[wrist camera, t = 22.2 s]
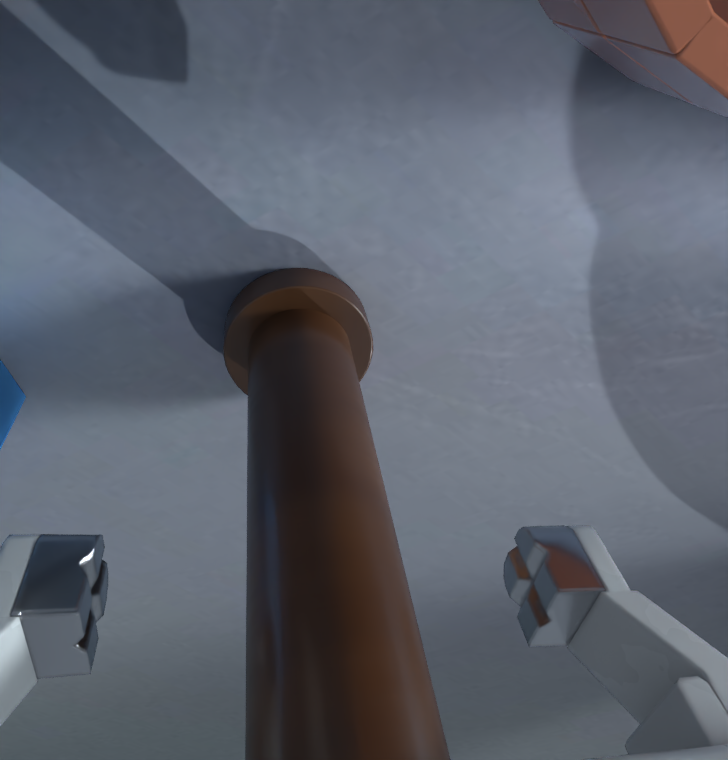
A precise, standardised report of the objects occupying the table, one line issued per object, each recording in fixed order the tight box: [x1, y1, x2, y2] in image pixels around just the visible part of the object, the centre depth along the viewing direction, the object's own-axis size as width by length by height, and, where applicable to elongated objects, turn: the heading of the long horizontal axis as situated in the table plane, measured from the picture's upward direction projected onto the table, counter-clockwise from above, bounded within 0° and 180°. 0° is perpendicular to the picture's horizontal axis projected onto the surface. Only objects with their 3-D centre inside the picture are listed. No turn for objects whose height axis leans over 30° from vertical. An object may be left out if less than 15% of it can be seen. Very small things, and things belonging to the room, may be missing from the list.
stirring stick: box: [223, 268, 450, 760], centre depth 12 cm, size 4×4×16 cm
